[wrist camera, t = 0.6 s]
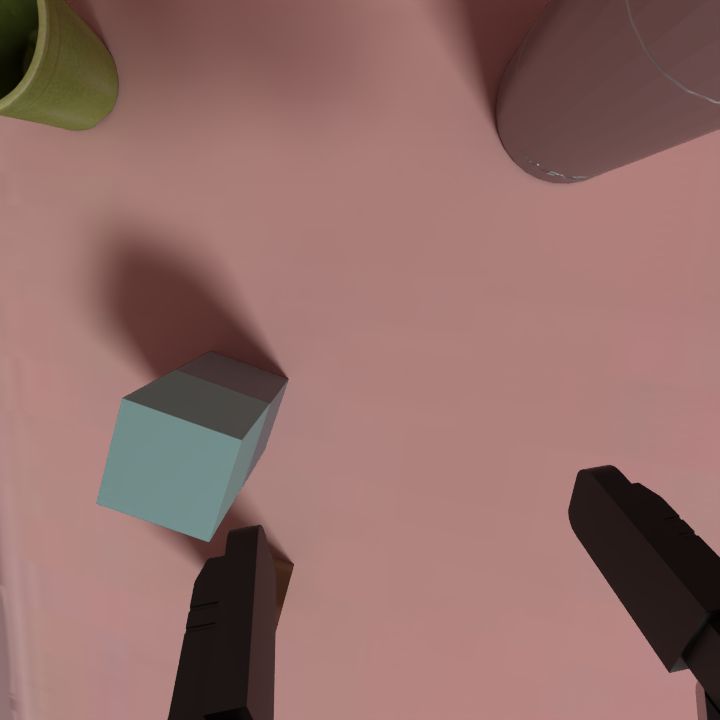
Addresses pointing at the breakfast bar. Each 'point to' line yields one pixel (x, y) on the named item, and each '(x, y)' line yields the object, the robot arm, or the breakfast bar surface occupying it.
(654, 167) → the breakfast bar surface
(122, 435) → the tower top
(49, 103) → the plant pot
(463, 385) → the breakfast bar surface
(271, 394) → the tower base
